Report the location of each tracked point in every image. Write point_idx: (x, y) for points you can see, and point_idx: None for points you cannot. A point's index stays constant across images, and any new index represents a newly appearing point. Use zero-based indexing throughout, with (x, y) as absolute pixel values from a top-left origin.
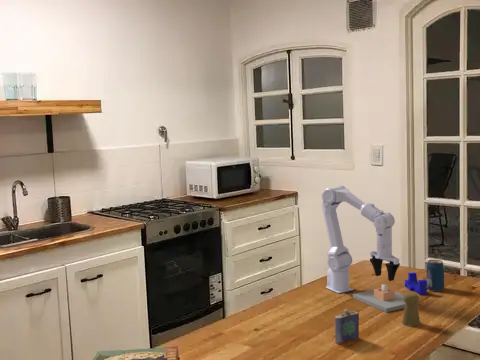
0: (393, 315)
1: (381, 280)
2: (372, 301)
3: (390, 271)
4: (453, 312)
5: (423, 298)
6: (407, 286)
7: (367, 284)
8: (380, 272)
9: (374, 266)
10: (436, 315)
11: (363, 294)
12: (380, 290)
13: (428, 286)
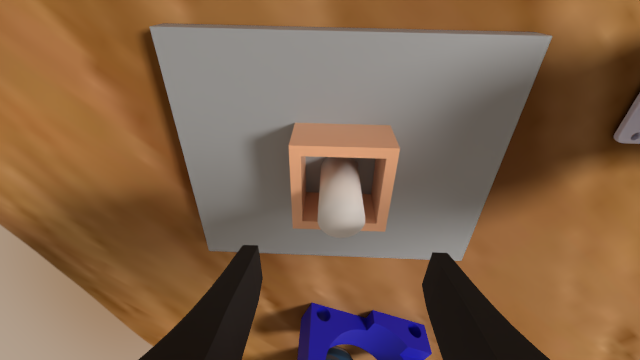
0: (98, 25)
1: (550, 315)
2: (323, 48)
3: (167, 338)
4: (86, 267)
5: (271, 290)
6: (400, 326)
7: (583, 252)
8: (430, 309)
9: (495, 345)
10: (61, 205)
11: (476, 100)
12: (379, 186)
13: (331, 358)
